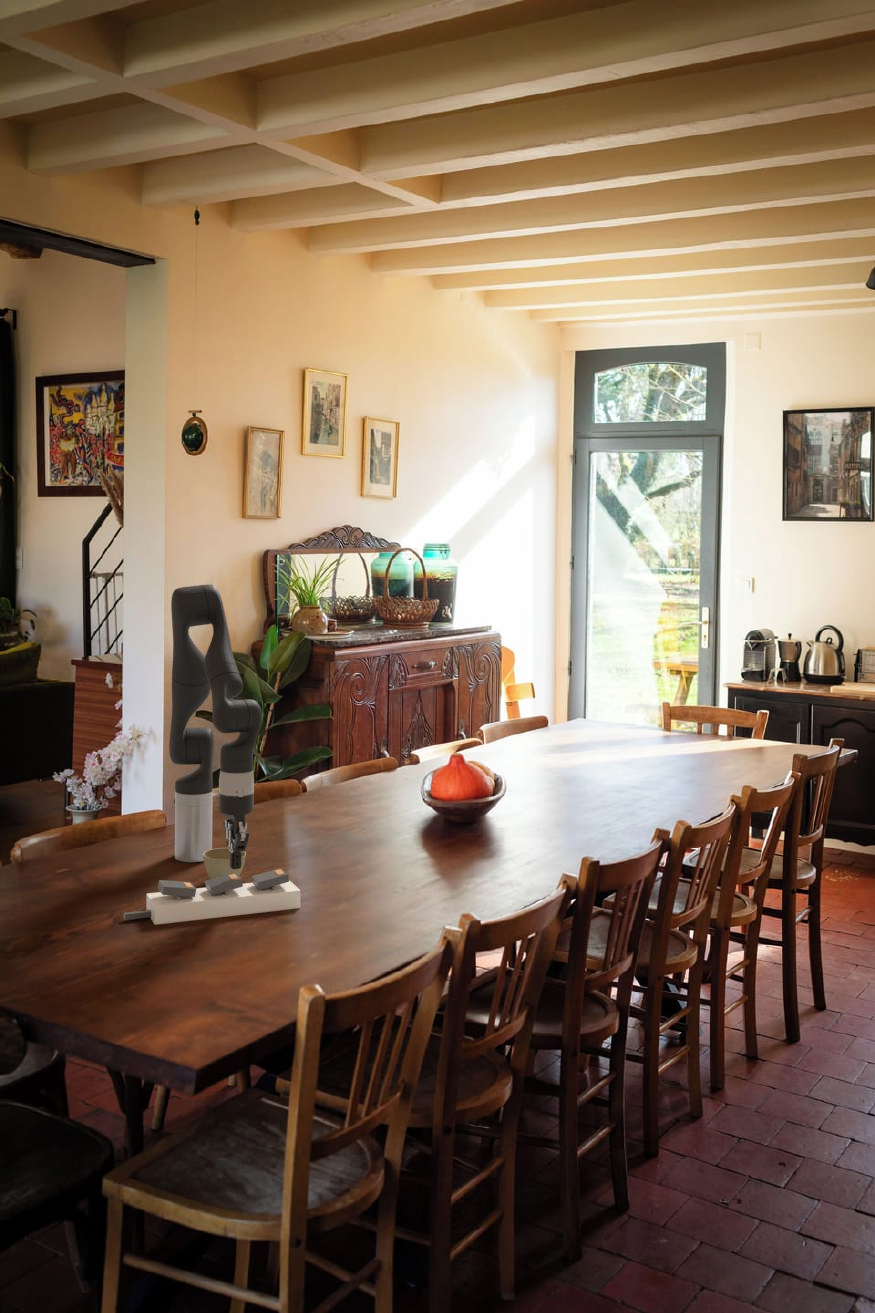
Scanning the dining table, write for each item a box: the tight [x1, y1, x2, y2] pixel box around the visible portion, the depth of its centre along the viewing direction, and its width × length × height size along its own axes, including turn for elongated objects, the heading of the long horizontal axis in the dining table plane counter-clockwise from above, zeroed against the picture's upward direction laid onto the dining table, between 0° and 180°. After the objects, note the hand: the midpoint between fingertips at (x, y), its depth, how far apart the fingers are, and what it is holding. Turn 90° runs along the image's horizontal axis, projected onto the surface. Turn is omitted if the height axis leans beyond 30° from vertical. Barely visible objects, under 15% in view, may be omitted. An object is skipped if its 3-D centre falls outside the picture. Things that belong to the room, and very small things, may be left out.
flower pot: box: [203, 847, 247, 880], centre depth 275 cm, size 10×10×7 cm
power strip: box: [123, 879, 302, 926], centre depth 255 cm, size 9×38×5 cm, turn 115°
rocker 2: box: [204, 873, 244, 895], centre depth 256 cm, size 5×7×2 cm
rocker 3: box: [251, 867, 290, 890], centre depth 260 cm, size 5×7×2 cm
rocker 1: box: [157, 879, 197, 897], centre depth 252 cm, size 5×7×2 cm
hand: (235, 868), depth 257 cm, fingers closed
